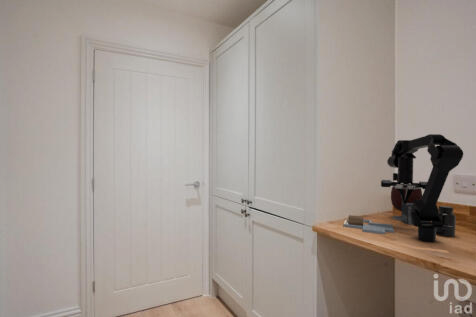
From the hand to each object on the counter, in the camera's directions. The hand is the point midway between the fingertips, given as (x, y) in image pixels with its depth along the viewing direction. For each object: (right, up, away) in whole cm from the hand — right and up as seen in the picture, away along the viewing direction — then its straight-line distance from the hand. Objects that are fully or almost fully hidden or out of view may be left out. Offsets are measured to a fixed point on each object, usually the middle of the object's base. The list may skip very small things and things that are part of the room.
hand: (404, 204), depth 119 cm
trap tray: (-14, -12, +3) cm, 19 cm away
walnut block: (-19, -11, +5) cm, 23 cm away
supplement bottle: (+14, -13, -5) cm, 19 cm away
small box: (+11, -12, +10) cm, 20 cm away
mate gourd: (+15, -12, +22) cm, 29 cm away
